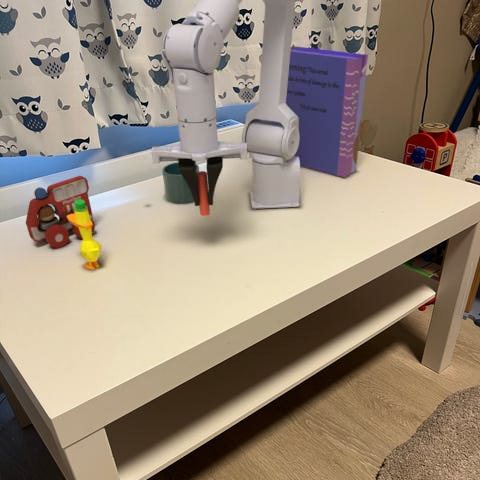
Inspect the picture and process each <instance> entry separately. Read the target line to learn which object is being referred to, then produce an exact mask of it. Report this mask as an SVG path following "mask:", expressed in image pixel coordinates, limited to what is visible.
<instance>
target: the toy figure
mask: <svg viewBox="0 0 480 480" xmlns="http://www.w3.org/2000/svg"><path fill="white" fill-rule="evenodd" d="M74 203H75V206H74V207H73V209H74V213H75V214H70V215H67V219H68V221H69V222H70V223H71V224H73V225H75V226H77V227H78V228H79V230H80V233H81V235H82V238H81V239H82V241H81V242H80V245H79V248H80V252H79V254H80V256H81V257H83V259H85V260H86V261H87V262H86V263H84V267H85V268H86V269H87V270H91V271H93V270H95V269H97V268H99V267H100V265H99V263H98V262H97V260H98V259H99V257H100V255H101V250H102V249H103V248H102V243H100V242H99V241H97V240H95V239H94V238H93V234H92V230H91V227H92V225H93V224H92V221H91V219H90V217H89V213H88V209H87V206H86V205H85V201H84V200H81V199H79V200H76V201H75V202H74Z"/></svg>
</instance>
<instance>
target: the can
mask: <svg viewBox="0 0 480 480" xmlns="http://www.w3.org/2000/svg"><path fill="white" fill-rule="evenodd" d="M197 172H200V166H199V165H198V164H197V163H196V174H197ZM162 180H163V186H164V194H165V195H164V196H165V199H166V200H167V201H168V202H169V203H173V204H181V205H182V204H190V203H194V199H193V196H192V193H191V191H190V189H189V187H188V185H187V183H186V181H185V179H184V178H183V176H182V175H181V174H180V172H179V169H178V161H176V162H172V163H168V164H167V165H165V166H163V168H162ZM197 183H198V182H197Z"/></svg>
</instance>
